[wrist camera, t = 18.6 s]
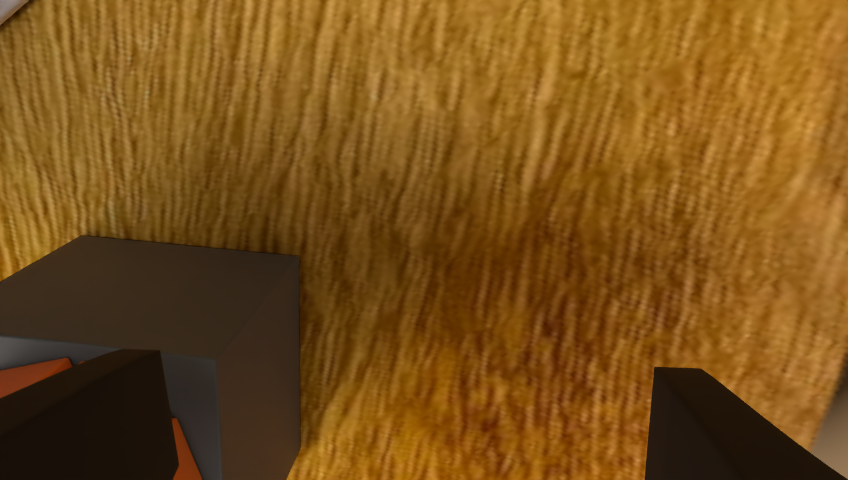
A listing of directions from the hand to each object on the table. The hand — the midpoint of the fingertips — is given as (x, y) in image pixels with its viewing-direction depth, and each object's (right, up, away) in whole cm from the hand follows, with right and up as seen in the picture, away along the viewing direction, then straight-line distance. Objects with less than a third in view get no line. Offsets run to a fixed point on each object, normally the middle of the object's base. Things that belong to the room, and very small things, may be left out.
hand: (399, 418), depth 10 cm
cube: (-6, -1, +11) cm, 13 cm away
